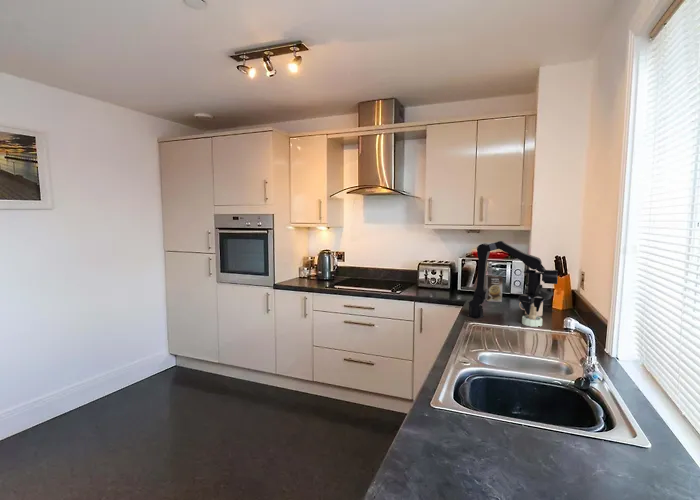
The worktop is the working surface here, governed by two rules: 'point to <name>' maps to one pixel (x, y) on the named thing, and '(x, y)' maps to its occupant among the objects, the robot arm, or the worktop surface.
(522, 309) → the teacup with lid
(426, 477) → the worktop surface
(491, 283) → the coffee box
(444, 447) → the worktop surface
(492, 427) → the worktop surface
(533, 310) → the wooden square beam
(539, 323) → the light green piece
